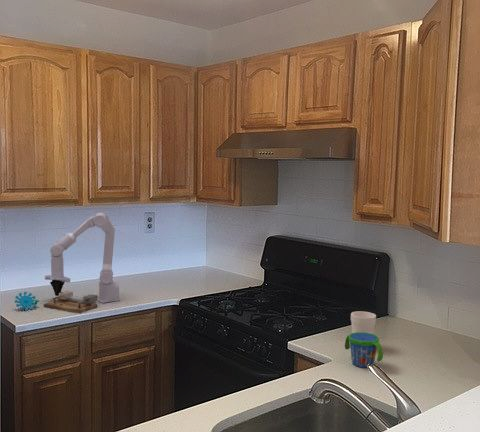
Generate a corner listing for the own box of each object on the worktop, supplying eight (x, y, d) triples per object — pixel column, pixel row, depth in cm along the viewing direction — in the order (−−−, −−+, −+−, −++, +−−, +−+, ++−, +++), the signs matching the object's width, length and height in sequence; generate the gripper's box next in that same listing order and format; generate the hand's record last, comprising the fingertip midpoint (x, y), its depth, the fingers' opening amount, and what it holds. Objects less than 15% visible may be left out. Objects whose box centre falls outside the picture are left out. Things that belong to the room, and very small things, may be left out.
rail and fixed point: (63, 298, 266) (63, 290, 266) (97, 303, 258) (97, 295, 257) (46, 303, 256) (46, 295, 256) (81, 309, 248) (81, 300, 247)
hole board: (61, 301, 266) (61, 297, 266) (97, 307, 257) (97, 303, 257) (43, 307, 255) (43, 303, 255) (80, 313, 246) (80, 309, 246)
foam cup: (358, 341, 216) (360, 310, 214) (379, 347, 209) (380, 315, 208) (344, 346, 209) (346, 314, 208) (365, 353, 202) (366, 319, 201)
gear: (15, 309, 245) (14, 290, 251) (12, 316, 249) (11, 297, 254) (40, 309, 251) (39, 291, 257) (37, 316, 255) (36, 297, 260)
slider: (66, 297, 265) (66, 290, 265) (72, 298, 264) (72, 291, 263) (49, 302, 255) (49, 295, 255) (56, 303, 254) (56, 296, 253)
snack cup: (336, 359, 195) (337, 332, 194) (358, 354, 201) (359, 328, 200) (367, 374, 182) (368, 345, 181) (389, 369, 187) (391, 340, 186)
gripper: (39, 268, 262) (40, 295, 264) (62, 271, 256) (63, 299, 258) (50, 265, 269) (51, 292, 270) (73, 268, 263) (73, 295, 264)
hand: (57, 295), depth 264 cm, fingers closed
